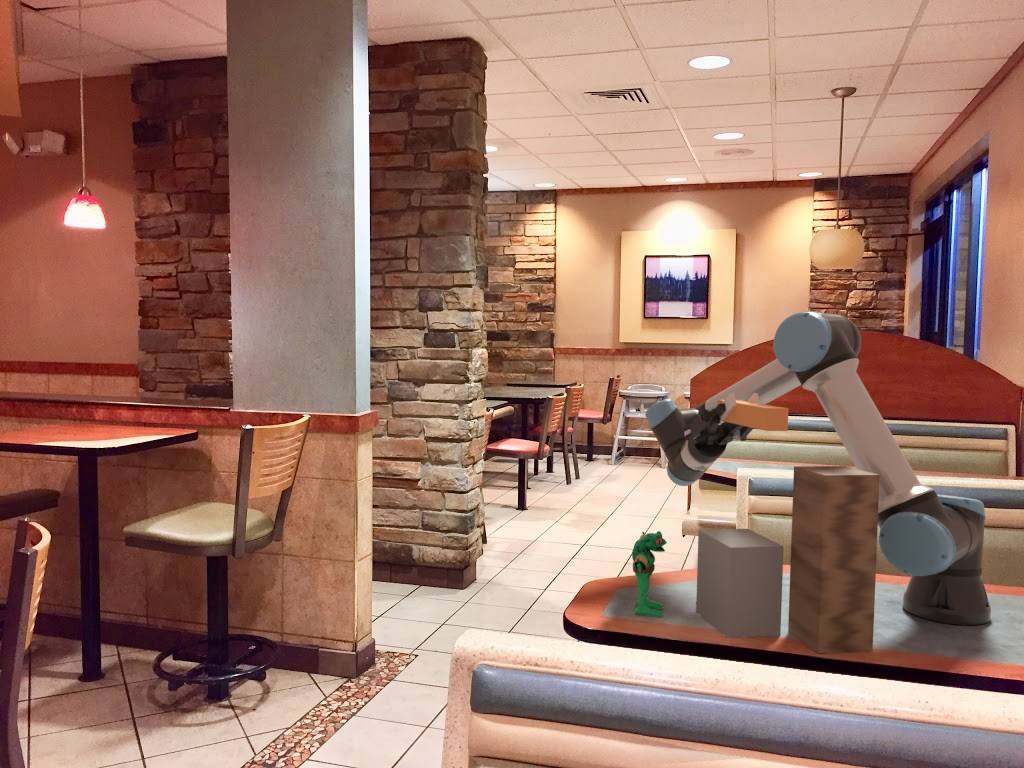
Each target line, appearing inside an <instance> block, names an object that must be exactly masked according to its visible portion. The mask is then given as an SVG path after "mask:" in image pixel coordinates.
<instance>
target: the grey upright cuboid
mask: <svg viewBox="0 0 1024 768" xmlns="http://www.w3.org/2000/svg"><path fill="white" fill-rule="evenodd" d="M697 535H698V536H697V537H698V539H697V565H696V566H697V567H696V568H697V570H696V571H697V573H696V575H697V576H696V601H695V602H696V605H695V613H696V614H697V615H699V616H700V617H701V618H703V619H704V621H706V622H707V623H708V624H710V626H712V627H714V628H715V629H716V630H717V631H718V632H719V633H720V634H722V635H723V636H724V635H725V636H724V637H726V638H728V639H733V638H732V637H738V638H754V637H777V636H781V634H782V633H781V629H782V627H781V626H782V603H783V602H782V601H783V575H784V573H783V572H784V571H783V570H784V548H785V547H784V546H783V545H782V544H780V543H777V542H776V541H773V540H772V539H769V538H768V537H765V536H764V535H761V534H760V533H757V532H755V531H753V530H751V529H749V528H721V529H719V528H718V529H717V528H716V529H715V528H713V529H710V528H709V529H698V534H697Z"/></svg>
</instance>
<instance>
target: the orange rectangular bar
mask: <svg viewBox="0 0 1024 768" xmlns="http://www.w3.org/2000/svg"><path fill="white" fill-rule="evenodd" d="M723 402H724V400H718V404H720V403H723ZM736 404H737V406H736V407H735V408H734V410H733V411H732V412H731V413H730V414H729V415H728V416H727V418H726V419H725V420H721V418H720V420H721V421H725V422H729V423H734V424H738V425H743V426H747V427H751V428H753V429H757V430H760V431H765V432H788V431H789V429H788V428H789V407H782V406H776V405H770V404H765V405H764V404H758V403H752V402H746V401H739V400H736Z"/></svg>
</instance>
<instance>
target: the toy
mask: <svg viewBox="0 0 1024 768" xmlns="http://www.w3.org/2000/svg"><path fill="white" fill-rule="evenodd" d="M641 533H642V535H640V537H639V539H637V540H636V541H635V543H634V545H633V549H632V551H631V556H632V557H631V558H632V571H633V573H634V574H635V577H636V586H637V599H638V600H637V601H636V603H635V607H636V608H635V609H634V614H635V615H639V616H649V617H660V618H661V617H664V612H663V611H661V610H664V607H665V606H664V605H663V604H661V603H659V602H656V601H652V600H651V599H649V598H648V596H649V595H648V594H649V589H650V584H651V582H650V580H651V579H650V578H651V576H652V575H653V573H654V572H655V562H656V557H655V555H654V553H653V552H657V553H662V552H666V550H665V549H664V547H663V546H665V545H666V544H667V543H668V542H667V541H666V539H665V538H663V533H662V532H661V531H660V530H658V531H657V532H656V533H654V532H648V533H646V534H645V531H642V532H641ZM652 551H653V552H652Z"/></svg>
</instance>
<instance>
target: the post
mask: <svg viewBox="0 0 1024 768" xmlns="http://www.w3.org/2000/svg"><path fill="white" fill-rule="evenodd" d="M879 480H880V475H878V474H874V473H870V472H866V471H863V470H859V469H857V468H856V467H855V468H853V467H851V466H847V465H839V466H838V465H836V466H835V465H833V466H832V465H827V466H826V465H825V466H823V465H822V466H819V465H818V466H817V465H816V466H813V465H812V466H807V465H806V466H799V465H798V466H793V483H792V484H793V485H792V488H793V489H792V511H791V512H792V513H791V514H792V515H791V536H790V538H791V539H790V541H791V542H790V543H791V545H790V565H789V566H790V568H789V569H790V572H789V595H788V596H789V597H788V623H787V625H788V626H787V627H788V628H787V634H789V635H790V636H791V637H793V638H794V639H796V640H797V641H799V642H800V643H802V644H803V645H805V647H808V648H809V649H810V650H812V651H813V652H815V653H816V654H818V655H823V654H822V653H827V654H843V653H845V652H846V653H847V654H848V653H861V652H862V653H864V652H865V651H867V652H873V650H874V649H873V648H874V631H875V630H874V628H875V627H874V625H875V623H874V622H875V603H876V602H875V600H876V577H877V576H876V574H877V573H876V572H877V551H878V528H879V526H878V505H879ZM819 653H821V654H819Z"/></svg>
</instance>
